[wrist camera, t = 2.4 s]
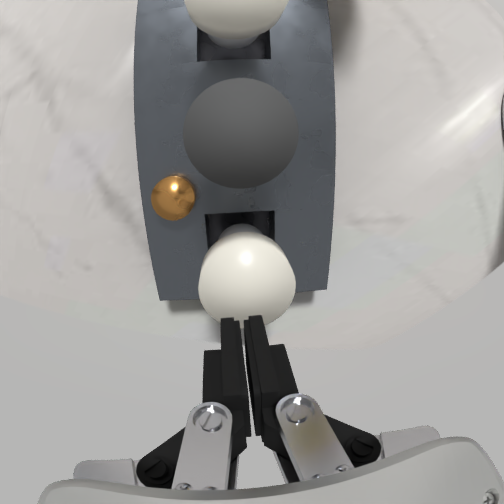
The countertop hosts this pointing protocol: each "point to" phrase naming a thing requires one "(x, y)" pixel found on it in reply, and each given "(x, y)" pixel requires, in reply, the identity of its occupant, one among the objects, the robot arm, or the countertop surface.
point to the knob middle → (240, 133)
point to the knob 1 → (235, 19)
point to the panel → (214, 195)
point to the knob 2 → (246, 276)
